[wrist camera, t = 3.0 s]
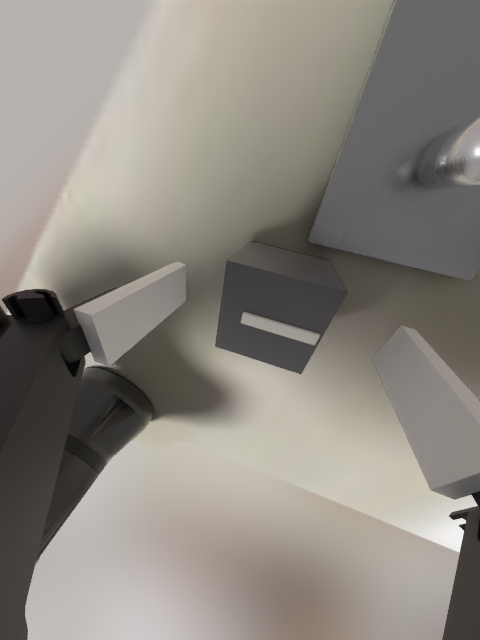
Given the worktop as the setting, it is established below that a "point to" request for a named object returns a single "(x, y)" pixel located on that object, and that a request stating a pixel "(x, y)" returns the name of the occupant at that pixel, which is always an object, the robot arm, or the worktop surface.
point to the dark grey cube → (277, 305)
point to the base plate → (413, 146)
